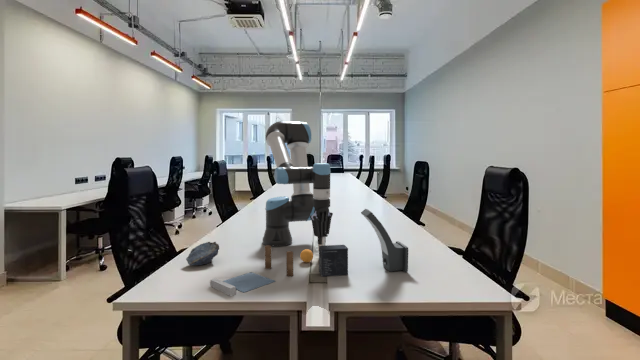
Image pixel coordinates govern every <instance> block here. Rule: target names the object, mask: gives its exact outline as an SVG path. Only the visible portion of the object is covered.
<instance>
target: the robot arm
mask: <svg viewBox="0 0 640 360" xmlns="http://www.w3.org/2000/svg"><path fill="white" fill-rule="evenodd" d="M265 141H266V143H267V145H268V146H269V147H270V151H271V153H272V154H271V155H272V157H273V160H274V163H275V166H276V168H275V169H274V175H273V176H274V181H275V183H276V184H277V185H292V187H293V188H292V189H293V193H292V195H291V196H290V197H289V196H276V197H270V198H269V199H267V200H266V202H265V208H264V209H265V230H264V234H263V237H262V244H263V245H265V246H266V245H270V246H271V247H284V246H285V247H286V246H289V245H291V244H292V243H293V237H292V233H291V230H290V226H289V225H290V223H291V222H292V223H293V222H294V223H295V222H308V221H311V223H312V224H311V226H312V229H313V231H312V232H313V235H314V237H316V238H317V244H318V246H317V248H318V249H317V252H319V246H326V239H327V237H328V236H329V234H330V228H331V224H332V223H331V222H332V217H333V212H331V211H330V207H331V199H330V198H331V173H332V171H331V165H330V164H329V163H325V162H321V163H319V162H317V163H314V164H313V166H309V165H308V157H307V156H308V155H307V154H308V153H307V149H308V147H309V144H310V143H311V141H312V130H311V127H310V125H309V123H307V122H306V121H305V122H304V121H287V120H286V121H284V120H283V121H282V120H281V121H276V122H274V123H272V124H271V125H270V126H269V127H268V128H267V130H266V132H265ZM288 150H290V151H288ZM289 152H290V154H289ZM310 184H312V185H313V186H312V192H311V189H310V188H311V187H310Z"/></svg>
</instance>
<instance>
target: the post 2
mask: <svg viewBox="0 0 640 360" xmlns="http://www.w3.org/2000/svg"><path fill="white" fill-rule="evenodd" d="M285 259H286V261H285V262H286V263H285V264H286V265H285V266H286V268H285V269H286V271H285V272H286V275H285V276H286V277H293V276H294V251H293V250H288V251H286V256H285Z"/></svg>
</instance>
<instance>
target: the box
mask: <svg viewBox="0 0 640 360" xmlns="http://www.w3.org/2000/svg"><path fill="white" fill-rule="evenodd" d="M318 272H319V274H320V277H336V276H337V277H338V276H348V275H349V248H348V247H347V246H346V245H345V244H328V245H325V246H319V251H318Z"/></svg>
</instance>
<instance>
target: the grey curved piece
mask: <svg viewBox="0 0 640 360" xmlns="http://www.w3.org/2000/svg"><path fill="white" fill-rule="evenodd" d="M360 213H361V215H362V216H363V217H364V218H365V219H366V220H367V222H368V223H369V224H370V226H371V227H372V228H373V229H374V232H375V233H376V235H377V238H378V240H379V244H380V247H381V257H382V266H383V267H384V268H385V269H386V270H387V272H391V273H392V272H398V271H399V272H400V271H403V272H404V273H408V271H409V247H408V246H407V245H405V244H404V243H402V242H401V241H395V242H393V240H392V239H391V237H390V235H389V234H388V231H387V230H386V228H385V227H384V225H383V224H382V223H381V221H380V220H379V219H378V218H377V217H376V216H375V214H374V213H373V212H372V210H369V209H368V208H364V209H363V210H362V211H361V212H360Z"/></svg>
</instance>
